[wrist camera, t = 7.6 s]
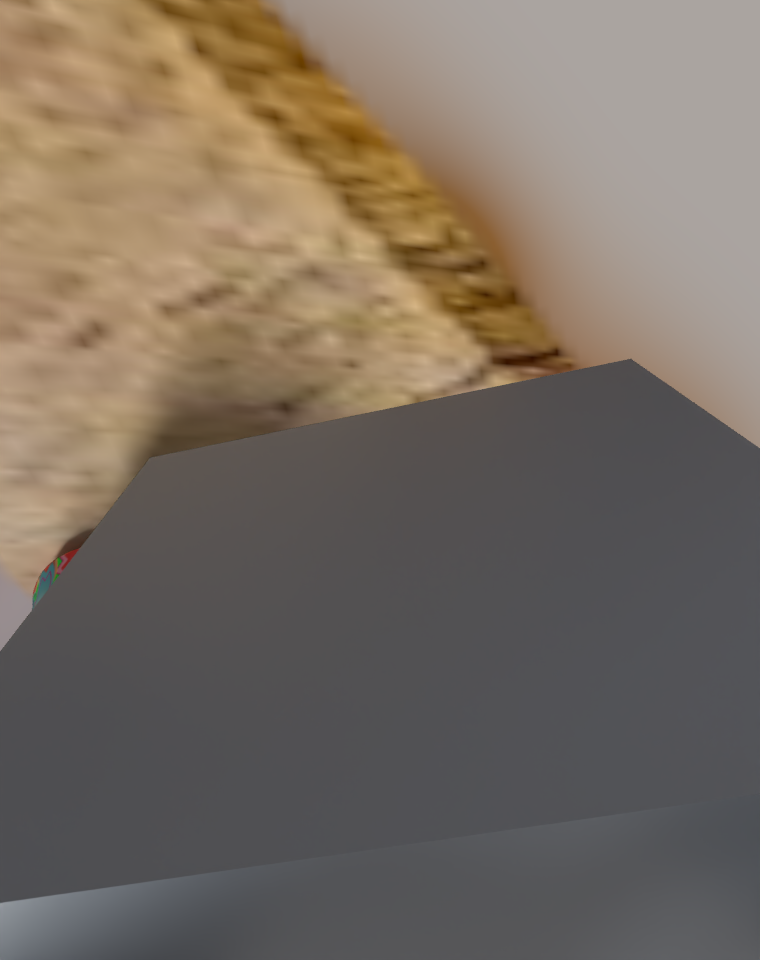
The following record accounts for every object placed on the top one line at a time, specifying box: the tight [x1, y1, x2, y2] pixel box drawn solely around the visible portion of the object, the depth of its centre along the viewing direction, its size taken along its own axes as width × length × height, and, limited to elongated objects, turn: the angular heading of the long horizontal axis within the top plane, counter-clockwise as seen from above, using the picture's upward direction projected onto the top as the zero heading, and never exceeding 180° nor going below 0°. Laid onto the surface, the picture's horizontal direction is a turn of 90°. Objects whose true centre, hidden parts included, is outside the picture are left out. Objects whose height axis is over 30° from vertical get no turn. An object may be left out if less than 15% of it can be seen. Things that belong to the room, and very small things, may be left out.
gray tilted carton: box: [0, 359, 760, 960], centre depth 10 cm, size 10×10×9 cm
